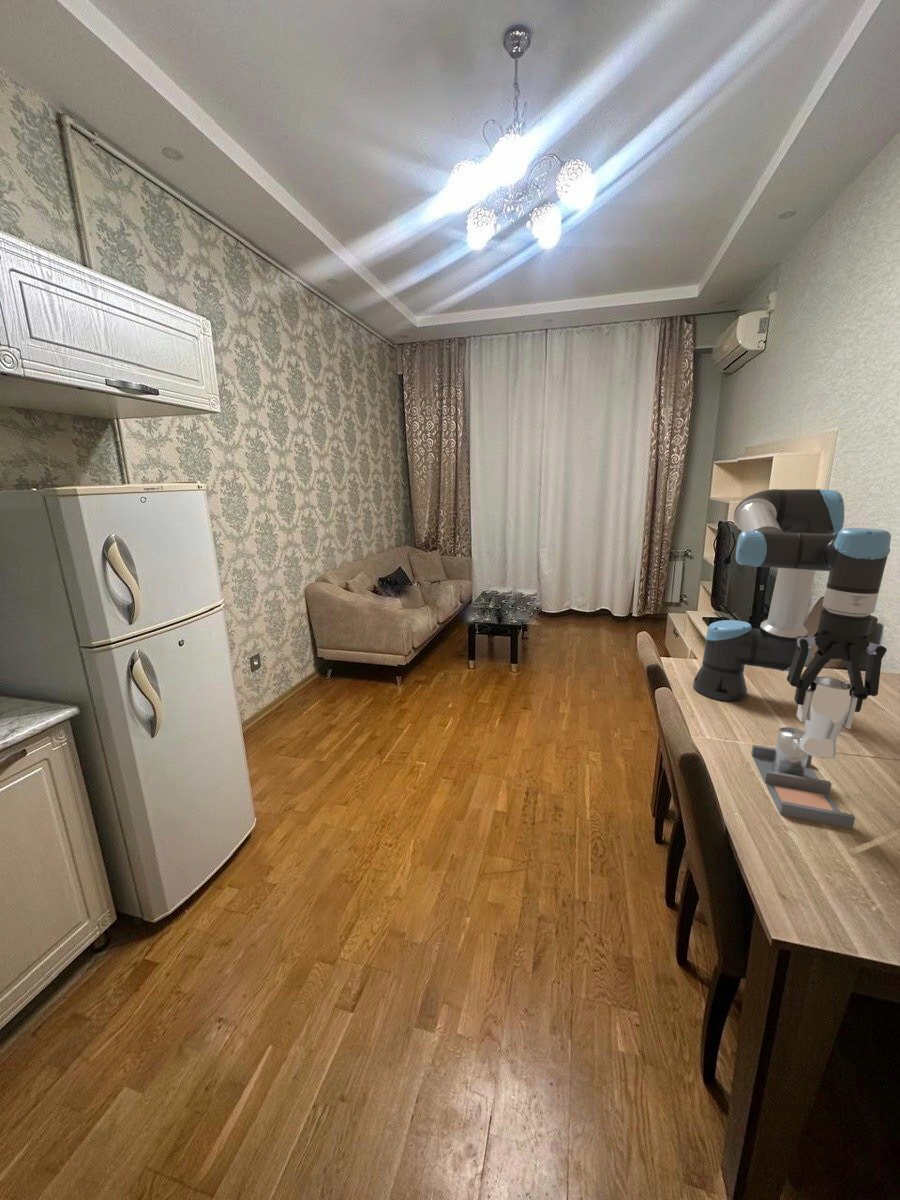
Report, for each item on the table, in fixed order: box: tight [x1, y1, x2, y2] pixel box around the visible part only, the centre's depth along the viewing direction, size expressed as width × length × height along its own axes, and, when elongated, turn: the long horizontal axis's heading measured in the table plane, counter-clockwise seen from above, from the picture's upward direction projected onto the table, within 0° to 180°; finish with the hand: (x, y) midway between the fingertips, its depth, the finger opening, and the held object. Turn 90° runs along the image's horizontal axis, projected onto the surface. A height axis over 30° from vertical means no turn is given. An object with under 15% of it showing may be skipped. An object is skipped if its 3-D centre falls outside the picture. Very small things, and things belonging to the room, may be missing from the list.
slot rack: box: [750, 744, 856, 830], centre depth 103 cm, size 23×12×3 cm, turn 161°
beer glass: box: [798, 675, 853, 760], centre depth 93 cm, size 7×7×15 cm
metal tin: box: [772, 726, 808, 777], centre depth 107 cm, size 6×6×10 cm
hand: (822, 721), depth 93 cm, fingers closed on beer glass, 7 cm apart
